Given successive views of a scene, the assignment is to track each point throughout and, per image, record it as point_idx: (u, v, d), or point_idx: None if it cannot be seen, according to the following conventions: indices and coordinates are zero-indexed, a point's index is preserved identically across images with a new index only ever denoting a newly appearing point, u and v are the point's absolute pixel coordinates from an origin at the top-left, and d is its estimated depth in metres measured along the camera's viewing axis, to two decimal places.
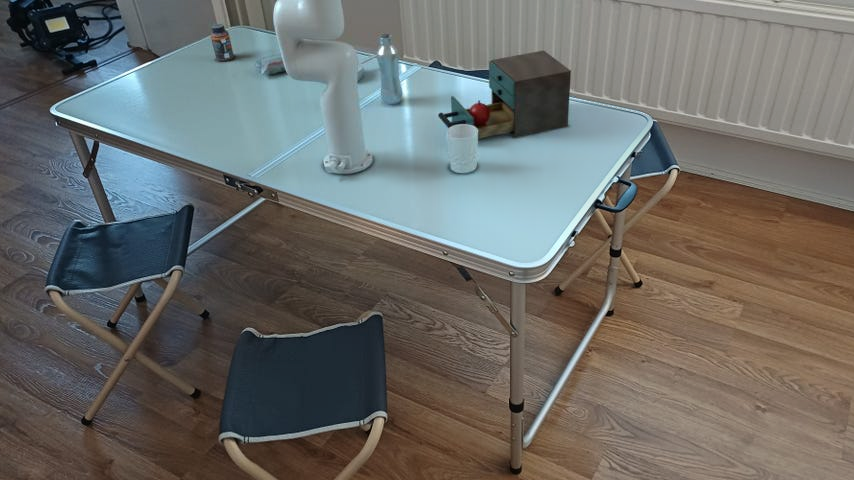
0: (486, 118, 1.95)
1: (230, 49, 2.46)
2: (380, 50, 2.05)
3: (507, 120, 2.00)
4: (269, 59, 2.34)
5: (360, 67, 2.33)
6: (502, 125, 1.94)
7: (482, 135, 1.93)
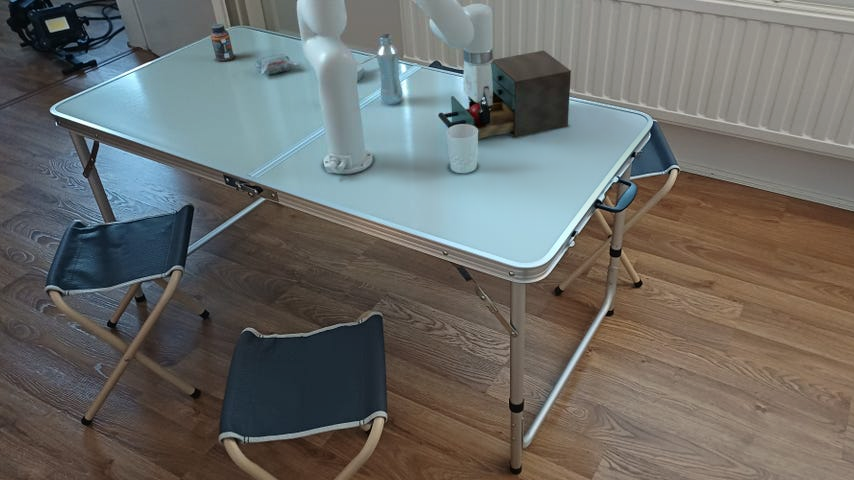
0: None
1: (230, 49, 2.46)
2: (380, 50, 2.05)
3: (507, 120, 2.00)
4: (269, 59, 2.34)
5: (360, 67, 2.33)
6: (502, 125, 1.94)
7: (482, 135, 1.93)
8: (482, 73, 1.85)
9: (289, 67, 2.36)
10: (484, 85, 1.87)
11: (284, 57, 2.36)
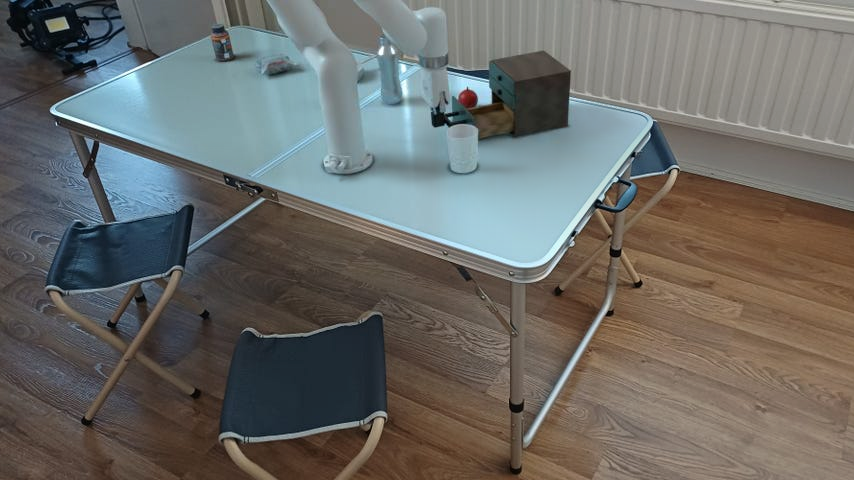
0: (474, 104, 2.08)
1: (230, 49, 2.46)
2: (380, 50, 2.05)
3: (508, 120, 2.00)
4: (269, 59, 2.34)
5: (360, 67, 2.33)
6: (503, 125, 1.94)
7: (483, 135, 1.93)
8: (437, 78, 1.81)
9: (289, 67, 2.36)
10: (440, 90, 1.83)
11: (284, 57, 2.36)
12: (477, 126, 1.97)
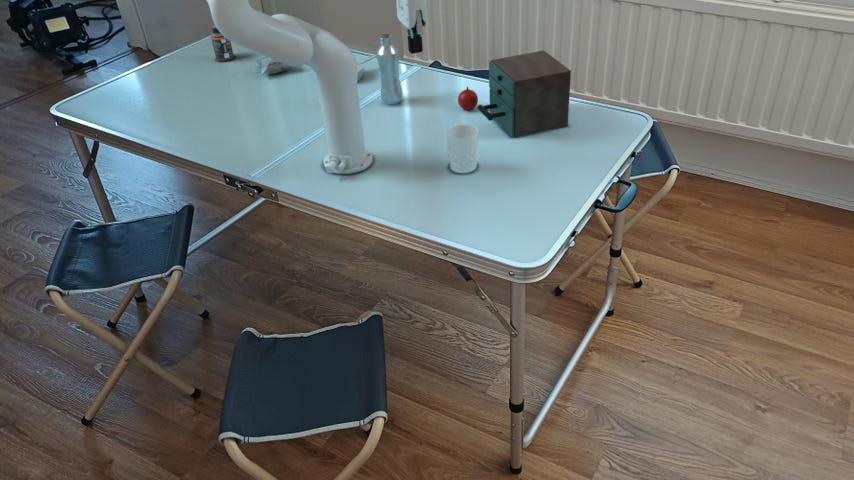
0: (474, 104, 2.08)
1: (230, 49, 2.46)
2: (380, 50, 2.05)
3: None
4: (269, 59, 2.34)
5: (360, 67, 2.33)
6: None
7: None
8: None
9: (289, 67, 2.36)
10: (416, 8, 1.69)
11: None
12: None
